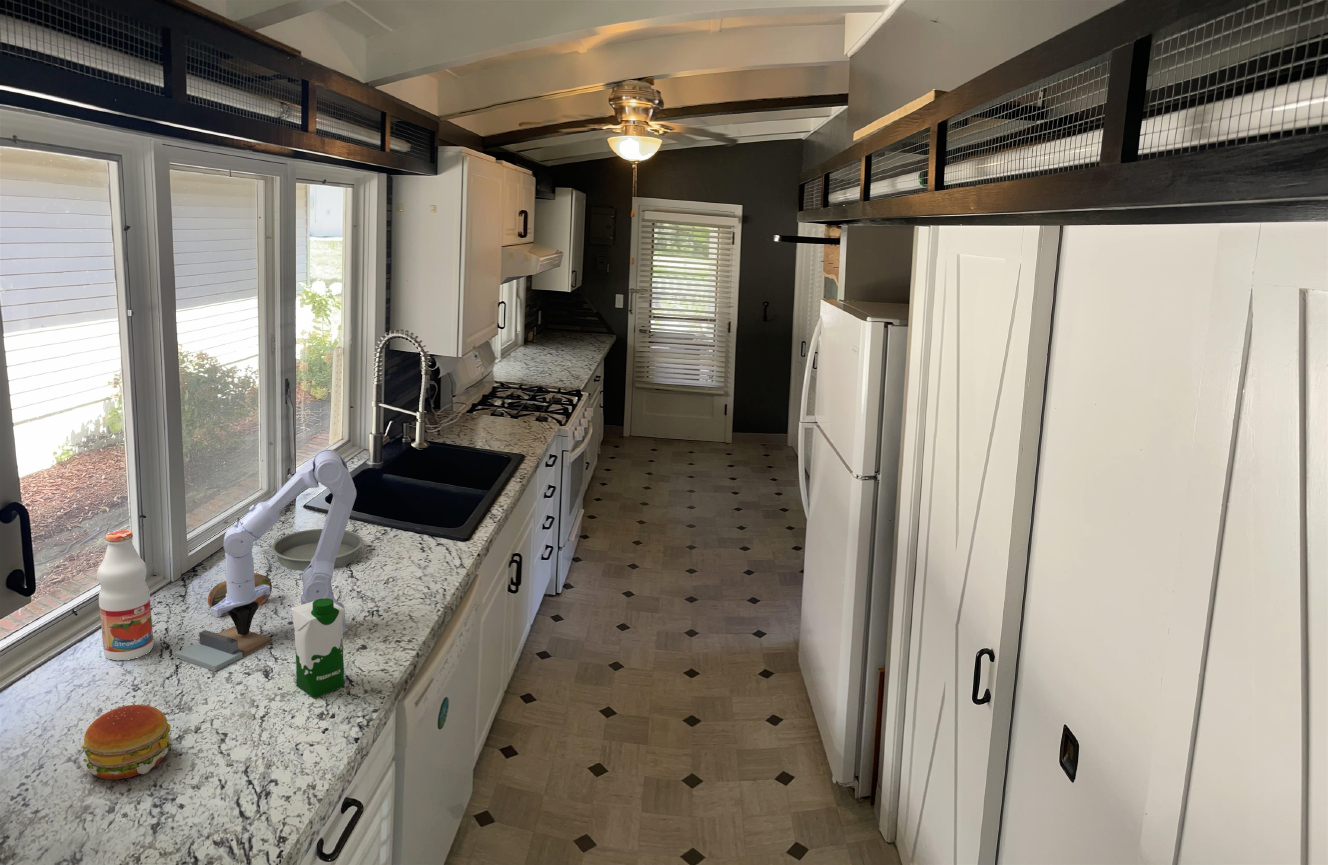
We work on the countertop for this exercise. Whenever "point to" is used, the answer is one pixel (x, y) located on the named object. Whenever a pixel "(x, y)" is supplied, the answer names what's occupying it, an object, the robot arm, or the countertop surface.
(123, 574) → the fruit juice
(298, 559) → the cake pan
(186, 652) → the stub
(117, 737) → the burger
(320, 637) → the milk carton
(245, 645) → the board
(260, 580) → the tin
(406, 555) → the countertop surface
